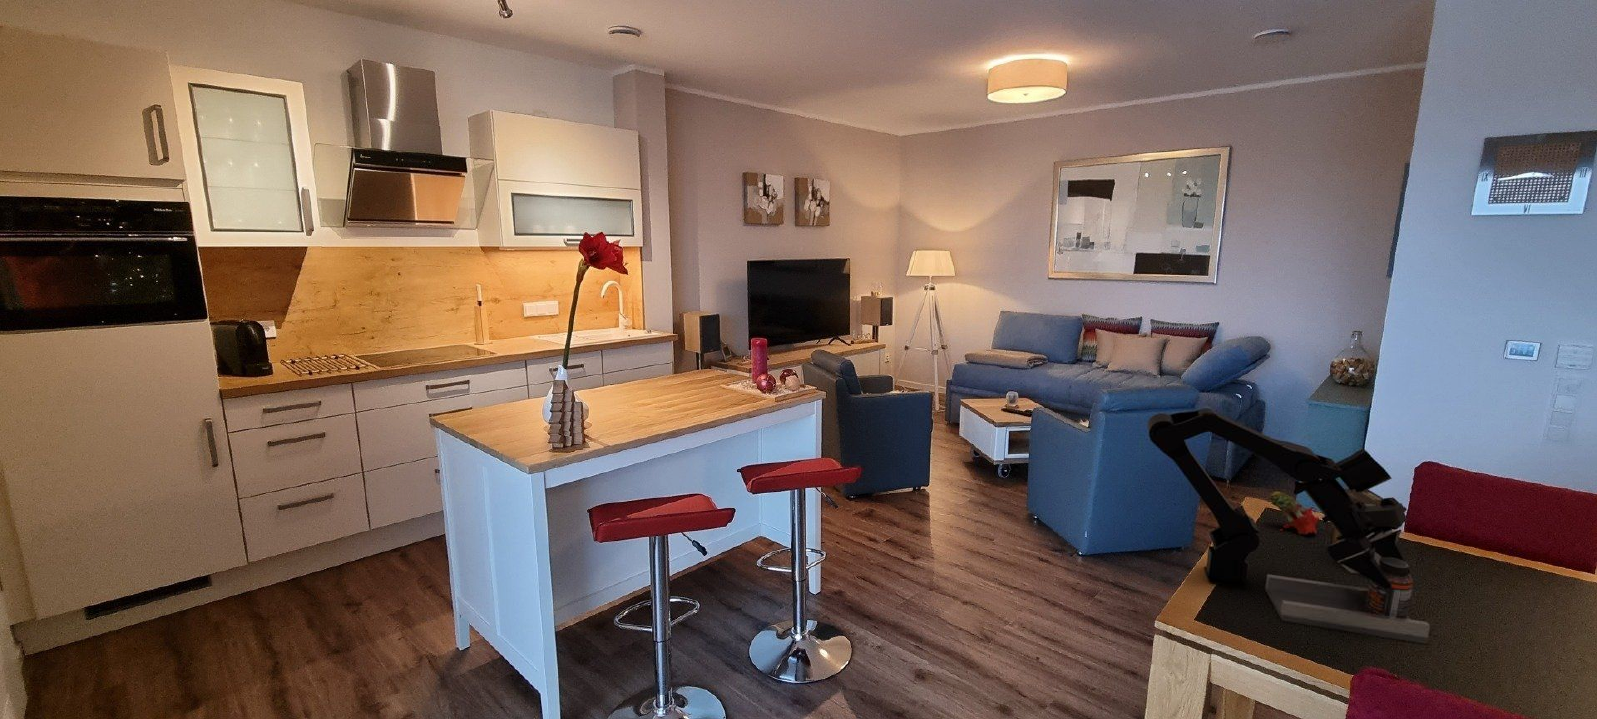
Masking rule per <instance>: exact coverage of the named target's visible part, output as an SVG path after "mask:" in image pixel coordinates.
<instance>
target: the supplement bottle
mask: <svg viewBox="0 0 1597 719" xmlns="http://www.w3.org/2000/svg"><path fill="white" fill-rule="evenodd" d="M1406 562H1407V561H1406ZM1406 562H1404V561H1402V560H1399V559H1396V558H1392V557H1383V558H1381V560H1380V564H1379V565H1380V568H1381V569H1382V571H1383V572H1384V574H1385V575H1386V577H1387V578H1388V580H1389V582H1390V583H1391V585H1392V587H1390V588H1387V589H1385V588H1384V587H1382V586H1380V585H1379V584H1377V583H1375V582H1374V581H1372V580H1370V579H1369V584H1368V595H1367V601H1366V608H1365V609H1366V612H1367V613H1370V614H1377V615H1384V616H1390V617H1397V618H1403V619H1406V617H1407V615H1408V613H1409V611H1408V610H1409V606H1410V601H1411V597H1412V590H1413V584H1414V580H1413V577H1412V576H1411V575H1410V574H1409V573H1407V572H1408V567H1409V568H1410V565H1409V564H1408V563H1406Z"/></svg>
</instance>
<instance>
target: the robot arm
mask: <svg viewBox="0 0 1597 719" xmlns="http://www.w3.org/2000/svg"><path fill="white" fill-rule="evenodd" d="M1146 427H1147V432H1148V436H1149V439H1150V442H1152V443H1153V445H1155V447H1157V449H1159V450H1160V451H1161V452H1162V453H1163V454H1164V455H1166V457H1168V458H1170V460H1171V461H1173V462H1174V463H1175V464H1176V466H1177V467H1178V468H1179V469H1180V472H1182V474H1183V475H1184V476H1185V478H1186V479H1187V481H1188V482H1189V484H1190V485H1191V486H1192V487H1193V489H1194V490H1195V491H1196V493H1197V494H1198V495H1199V497H1200V499H1201V500H1202V501H1203V502H1204V503H1205V505H1206V507H1207V508H1208V509H1209V510H1210V511H1211V513H1212V515H1213V516H1214V518H1215V520H1216V523H1217V524H1218V527H1216V528H1214V529H1213V530H1211V531H1210V532H1209V533H1208V534H1209V538H1210V541H1211V543H1212V546H1210V545H1208V549H1207V550H1208V551H1207V559H1206V566H1204V567H1203V571H1204V573H1205V575H1206V578H1207V580H1208V583H1210V584H1215V585H1221V586H1222V585H1223V586H1229V587H1236V588H1242V589H1243V588H1246V584H1245V582H1246V581H1247V576H1248V568H1249V564H1248V563H1249V562H1248V561H1247V560H1246V559H1247V557H1248V556H1249V555H1250V553H1253V552H1254V551H1256V550H1257V549H1258V548H1259V546H1260V543H1261V541H1260V538H1259V535H1258V534H1259V533H1260V530H1259V528H1258V525H1257V524H1256V523H1255V520H1254V518H1253V517H1251V516H1249V514H1248V513H1247V512H1246V510H1245V508H1244V506H1243V504H1241V505H1239V506H1237V507H1235V506H1234V505H1233V504H1231V503H1230V502H1229V501H1228V499H1227V498H1226V496H1224V494H1223V492H1221V490H1220V489H1219V487H1218V486H1217V485H1216V483H1215V482H1214V481H1213V479H1212V478H1211V477H1210V475H1209V474H1208V472H1207V471H1206V470H1205V468H1204V467H1203V466H1202V464H1201V463H1200V461H1199V460H1198V459H1197V457H1195V454H1193V452H1192V451H1191V450H1190V448H1189V446H1188V444H1187V441H1186V440H1188V439H1191V438H1192V439H1193V438H1194V437H1196V436H1199V435H1202V434H1204V433H1212V434H1213V435H1215V436H1218V437H1220V438H1222V439H1224V440H1226V441H1228V442H1231V443H1233V444H1235V445H1236V446H1239V447H1241V448H1242V449H1243V448H1244V449H1246V450H1248V451H1250V452H1252V453H1254V454H1256V455H1258V456H1260V457H1262V458H1265V459H1266V460H1268V461H1269V462H1271V463H1272V464H1273V465H1275V467H1278V468H1279V469H1280V470H1281V471H1283V473H1285V474H1287V475H1288V476H1290V477H1291V478H1293V479H1295V481H1294V490H1293V495H1295V496H1297V495H1300V494H1301V493H1303V492H1305V493H1306V495H1307V496H1308V498H1310V499H1311V501H1312V502H1313V504H1314V505H1315V506H1316V507H1317V508H1318V509H1319V511H1320V512H1321V513H1322V514H1323V517H1321V520H1322V521H1323V522H1324V524H1325V523H1330V524H1331V526H1332V525H1333V527H1334V528H1335V529H1336V530H1337V532H1338V533H1339V534H1340V536H1338V537H1337V539H1338V540H1339V541H1337V542H1335V543H1333V544H1331V545H1330V544H1329V545H1328V546H1327V547H1326V555H1327V556H1328V557H1329V559H1330V560H1331V561H1332V562H1333V563H1336V562H1337V561H1339V560H1341V561H1340V562H1337V563H1338V564H1339V565H1340V566H1342V564H1343V565H1345V566H1347V567H1349V568H1351V569H1353V570H1354V571H1356V572H1358V573H1360V574H1359V575H1362V576H1364V577H1365V578H1367V579H1368V580H1369V581H1370V580H1372V581H1374V582H1375V583H1377V584H1379V585H1380V586H1382V587H1384V588H1385V589H1387V588H1390V587H1392V585H1391V583H1390V582H1389V580H1388V578H1387V577H1386V575H1385V574H1384V572H1383V571H1382V569H1381V568H1380V566H1379V565H1378V563H1377V562H1376V560H1375V558H1374V555H1375V552H1376V553H1377V554H1378V555H1380V556H1381V557H1382V558H1383V557H1392V558H1396V559H1399V560H1402V561H1404V562H1406V563H1407V560H1406V558H1405V555H1404V553H1403V552H1402V549H1401V547H1400V543H1399V538H1400V535H1401V533H1402V529H1399V528H1401V527H1402V526H1403V524H1404V523H1408V519H1407V516H1406V513H1405V512H1407V511H1408V510H1407V507H1406V506H1404V505H1403V503H1402V502H1399V501H1398V500H1397V499H1395V497H1394V496H1393V497H1384V498H1383V500H1381V503H1380V506H1379V505H1375V506H1371V507H1367V506H1366V505H1365V504H1364V503H1363V502H1362V501H1361V502H1360V500H1359V501H1356V502H1355V501H1354V500H1353V499H1352V498H1351V496H1350V495H1349V494H1348V493H1347V492H1346V490H1345V489H1346V488H1345V487H1344V486H1342V484H1341V483H1340V482H1339V480H1337V479H1340V480H1341V481H1342V482H1343V483H1344V484H1345V486H1346V487H1347V489H1350V490H1351V491H1352V490H1354V489H1355V491H1356V492H1357V493H1358V492H1361V493H1362V492H1364V491H1366V490H1370V489H1372V488H1374V487H1377V486H1379V485H1381V484H1383V483H1385V482H1388V481H1390V480H1392V479H1393V478H1392V476H1391V475H1390V474H1389V473H1388V471H1387V470H1386V469H1385V468H1384V467H1383V466H1382V465H1381V464H1380V463H1379V462H1378V461H1376V459H1375V458H1374V457H1372V456H1371V454H1370V453H1369V452H1368V451H1367V450H1366V449H1365V448H1361V449H1359V450H1357V451H1355V452H1354V453H1353V454H1351V455H1349V456H1347V457H1345V458H1342V459H1340V460H1339V461H1337V462H1335V460H1333V458H1329V457H1327V456H1323V455H1321V454H1316V453H1315V452H1314V451H1313V450H1312V449H1310V448H1309V447H1307V446H1304V445H1301V444H1298V443H1294V442H1290V441H1286V440H1280V439H1275V438H1272V437H1270V436H1268V435H1266V434H1264V433H1261V432H1260V431H1258V430H1255V429H1253V428H1250V427H1248V426H1246V425H1244V424H1241V423H1239V422H1238V421H1235V420H1233V419H1231V418H1230V417H1226V416H1224V415H1222V414H1220V413H1218V412H1216V411H1215V410H1214V409H1212V408H1207V407H1206V408H1205V407H1204V408H1201V409H1197V410H1190V411H1182V412H1175V413H1171V414H1166V413H1156V414H1154V415H1153V416H1151V417H1150V418H1149V419H1148V421H1147V425H1146ZM1395 530H1396V531H1395ZM1369 540H1370V541H1369ZM1368 548H1371V549H1368ZM1342 559H1343V560H1342ZM1407 564H1408V563H1407ZM1358 573H1357V574H1358ZM1407 573H1408V574H1409V573H1411V569H1410V566H1409V567H1408V572H1407Z"/></svg>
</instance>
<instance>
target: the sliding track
mask: <svg viewBox="0 0 1597 719" xmlns="http://www.w3.org/2000/svg"><path fill="white" fill-rule="evenodd" d="M1265 582H1266V583H1265V584H1264V585H1265V587H1264V590H1265V593H1266V594H1267V595H1268V597H1269V600H1270V601H1271V603H1272V604H1273V607H1274V608H1275V610H1276V612H1277V614H1278V616H1279V618H1280V619H1281V621H1282V622H1287V623H1294V624H1299V625H1306V626H1311V627H1312V626H1313V627H1318V628H1323V629H1324V628H1325V629H1332V630H1335V631H1336V630H1337V631H1343V632H1350V633H1356V634H1362V635H1368V636H1375V637H1381V638H1387V639H1392V640H1400V641H1406V642H1412V643H1419V644H1424V645H1428V644H1429V635H1430V633H1429V632H1430V629H1431V625H1430V624H1429V623H1428V621H1422V620H1416V619H1412V618H1411V617H1410V616H1409V614H1407V617H1406V619H1403V618H1397V617H1390V616H1384V615H1377V614H1370V613H1367V612H1366V609H1365V608H1366V601H1367V595H1368V589H1369V587H1368V588H1367V587H1359V586H1354V585H1352V586H1351V585H1346V584H1340V583H1339V584H1338V583H1331V582H1326V581H1325V582H1324V581H1317V580H1309V579H1304V578H1295V577H1289V576H1284V575H1283V576H1282V575H1276V574H1267V575H1266V581H1265Z"/></svg>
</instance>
